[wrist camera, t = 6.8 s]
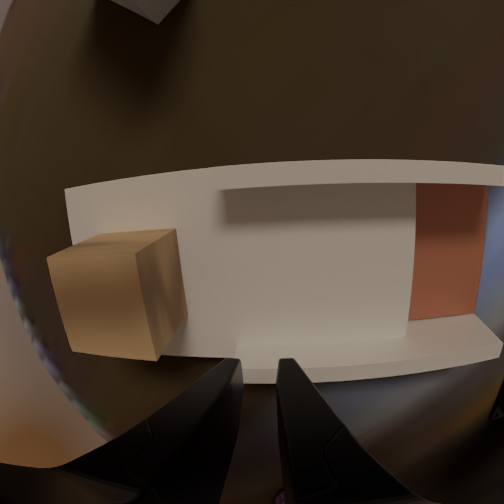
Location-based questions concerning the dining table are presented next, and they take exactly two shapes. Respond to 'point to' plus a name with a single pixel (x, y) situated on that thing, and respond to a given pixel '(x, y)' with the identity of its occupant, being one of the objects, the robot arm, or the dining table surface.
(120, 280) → the oak block
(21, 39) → the dining table surface
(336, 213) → the trap channel
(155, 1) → the grey box
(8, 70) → the dining table surface
